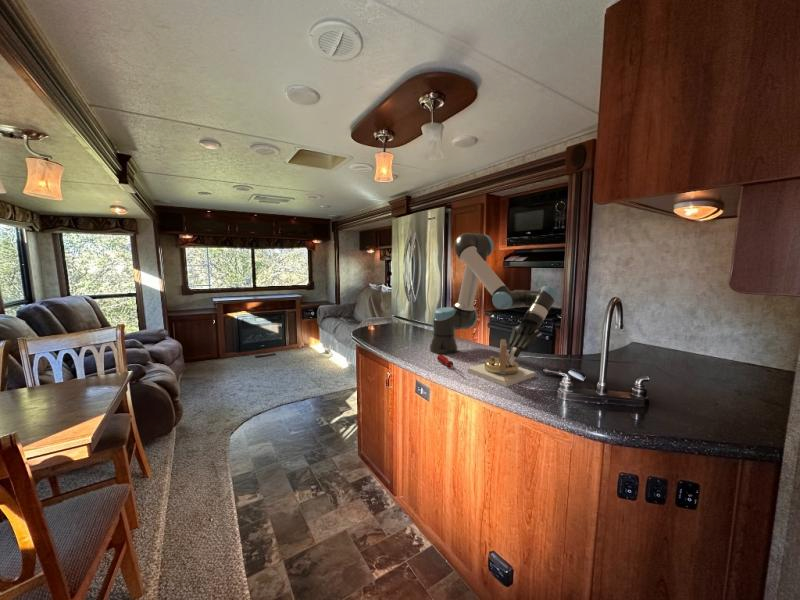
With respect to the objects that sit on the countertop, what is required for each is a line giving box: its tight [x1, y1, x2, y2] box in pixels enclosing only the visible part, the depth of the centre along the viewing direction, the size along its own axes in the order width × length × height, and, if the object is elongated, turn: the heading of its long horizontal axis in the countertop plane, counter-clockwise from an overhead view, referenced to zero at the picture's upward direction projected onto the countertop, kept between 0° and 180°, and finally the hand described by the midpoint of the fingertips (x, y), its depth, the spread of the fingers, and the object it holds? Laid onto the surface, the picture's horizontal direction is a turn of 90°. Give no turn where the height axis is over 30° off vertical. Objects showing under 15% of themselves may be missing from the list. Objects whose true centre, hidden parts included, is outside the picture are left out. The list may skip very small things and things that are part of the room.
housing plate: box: [467, 362, 536, 388], centre depth 138 cm, size 20×20×2 cm
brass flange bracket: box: [484, 338, 520, 375], centre depth 134 cm, size 22×14×15 cm, turn 164°
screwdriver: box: [436, 353, 464, 375], centre depth 146 cm, size 4×25×4 cm, turn 16°
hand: (508, 362), depth 127 cm, fingers closed
